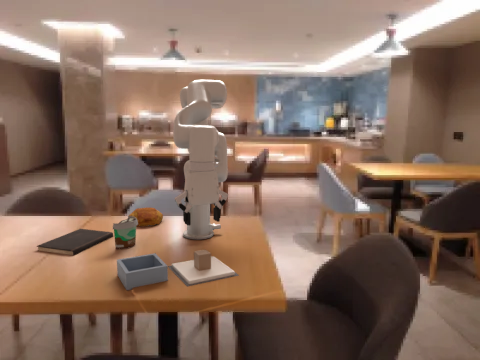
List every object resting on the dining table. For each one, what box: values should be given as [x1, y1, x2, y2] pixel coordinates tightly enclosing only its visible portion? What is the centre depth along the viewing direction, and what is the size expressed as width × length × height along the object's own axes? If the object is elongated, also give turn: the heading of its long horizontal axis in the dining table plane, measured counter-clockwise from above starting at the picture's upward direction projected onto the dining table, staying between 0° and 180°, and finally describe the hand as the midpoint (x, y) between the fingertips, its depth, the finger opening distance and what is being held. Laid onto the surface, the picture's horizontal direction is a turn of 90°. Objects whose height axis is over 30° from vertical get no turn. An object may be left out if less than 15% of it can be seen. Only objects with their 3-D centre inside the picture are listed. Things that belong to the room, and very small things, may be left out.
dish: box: [116, 252, 169, 291], centre depth 116 cm, size 12×12×5 cm
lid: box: [171, 249, 235, 284], centre depth 121 cm, size 15×15×6 cm
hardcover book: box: [36, 228, 114, 256], centre depth 148 cm, size 16×23×2 cm
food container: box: [112, 215, 138, 250], centre depth 145 cm, size 12×6×10 cm, turn 168°
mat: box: [167, 265, 240, 287], centre depth 121 cm, size 17×17×1 cm
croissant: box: [128, 207, 164, 227], centre depth 176 cm, size 14×16×8 cm
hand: (202, 222), depth 118 cm, fingers open, 9 cm apart
